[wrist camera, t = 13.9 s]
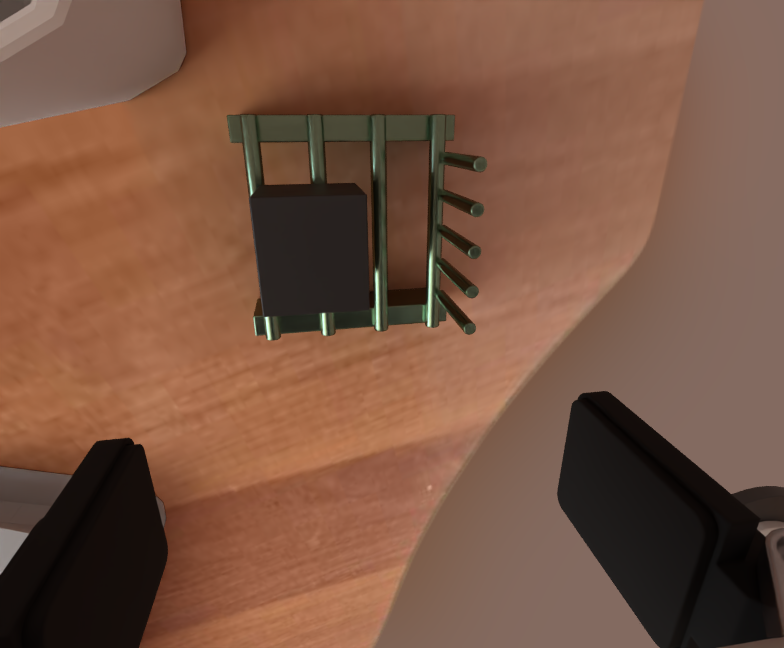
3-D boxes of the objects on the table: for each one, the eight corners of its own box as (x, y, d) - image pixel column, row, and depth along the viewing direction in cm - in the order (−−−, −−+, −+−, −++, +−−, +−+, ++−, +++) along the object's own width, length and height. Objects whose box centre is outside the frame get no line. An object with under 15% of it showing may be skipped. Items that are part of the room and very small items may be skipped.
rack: (438, 116, 26) (501, 109, 18) (433, 304, 30) (481, 366, 22) (234, 116, 24) (203, 109, 16) (259, 316, 28) (244, 389, 20)
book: (172, 488, 32) (156, 532, 28) (124, 703, 39) (106, 761, 35) (-103, 453, 27) (-162, 501, 24) (-101, 703, 34) (-147, 768, 31)
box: (355, 182, 23) (367, 194, 19) (358, 280, 25) (370, 310, 20) (259, 185, 22) (248, 197, 18) (270, 285, 24) (263, 317, 20)
